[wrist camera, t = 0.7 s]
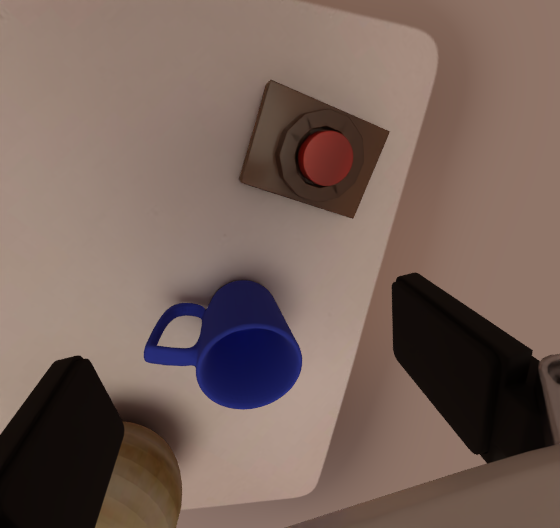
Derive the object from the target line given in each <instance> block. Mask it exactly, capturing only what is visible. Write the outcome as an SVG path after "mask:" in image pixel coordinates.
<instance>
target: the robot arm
mask: <svg viewBox="0 0 560 528" xmlns="http://www.w3.org/2000/svg"><path fill="white" fill-rule="evenodd" d="M392 316H393V317H392V318H393V351H394V355H395V357H396V359H397V361H398V362H399V363H400V364H401V366H402V367H403V368H404V369H405V371H406V372H407V373H408V374H409V375H410V376H411V378H412V379H413V380H414V382H415V383H416V384H417V385H418V387H419V388H420V389H421V390H422V391H423V393H424V394H425V395H426V396H427V398H428V399H429V400H430V401H431V403H432V404H433V405H434V406H435V408H436V409H437V410H438V411H439V413H440V414H441V415H442V416H443V417H444V419H445V420H446V421H447V422H448V423H449V425H450V426H451V427H452V428H453V430H454V431H455V432H456V433H457V435H458V436H459V437H460V438H461V440H462V441H463V442H464V443H465V445H466V446H467V447H468V448H469V449H470V450H471V451H472V452H473V453H474V454H476V455H478V454H480V455H481V456H482V458H483V459H484V460H485V461H486V462H487V464H484V465H481V466H478V467H474V468H471V469H467V470H464V471H461V472H458V473H455V474H452V475H448V476H445V477H442V478H439V479H436V480H433V481H429V482H427V483H424V484H420V485H417V486H414V487H411V488H407V489H404V490H401V491H398V492H395V493H392V494H388V495H385V496H382V497H379V498H376V499H373V500H370V501H367V502H364V503H360V504H357V505H354V506H351V507H348V508H345V509H341V510H338V511H335V512H332V513H329V514H326V515H323V516H320V517H317V518H314V519H311V520H307V521H304V522H301V523H298V524H295V525H292V526H289V527H286V528H560V354H556V355H550V356H547V357H545V358H543V359H542V360H541V361H539V360H537V359H536V358H534V357H533V356H532V351H533V350H531V349H530V348H528V347H527V346H525V345H524V344H522V343H521V342H519V341H518V340H516V339H515V338H513V337H512V336H510V335H509V334H507V333H506V332H504V331H503V330H501V329H500V328H499V327H497V326H496V325H494V324H493V323H491V322H490V321H488V320H487V319H485V318H484V317H482V316H481V315H479V314H478V313H476V312H475V311H473V310H472V309H470V308H469V307H467V306H466V305H464V304H463V303H461V302H460V301H458V300H457V299H455V298H454V297H452V296H451V295H449V294H448V293H446V292H445V291H443V290H442V289H440V288H439V287H437V286H436V285H434V284H433V283H432V282H430V281H428V280H427V279H426V278H424V277H423V276H421V275H420V274H418V273H411V274H407V275H403V276H399V277H397V279H396V282H394V283H393V284H392ZM124 431H125V430H124V424H123V422H122V420H121V418H120V416H119V414H118V412H117V410H116V408H115V407H114V405H113V403H112V401H111V399H110V397H109V395H108V393H107V392H106V390H105V388H104V386H103V384H102V382H101V380H100V378H99V377H98V375H97V373H96V371H95V369H94V367H93V365H92V363H91V362H90V360H88V359H83V358H82V357H81V356H73V357H69V358H65V359H61V360H57V361H55V362H54V363H53V364H52V365H51V367H50V368H49V369H48V371H47V372H46V373H45V375H44V376H43V377H42V379H41V380H40V382H39V383H38V384H37V386H36V387H35V388H34V390H33V391H32V392H31V394H30V395H29V396H28V398H27V399H26V401H25V402H24V403H23V405H22V406H21V407H20V409H19V410H18V411H17V413H16V414H15V416H14V417H13V418H12V420H11V421H10V422H9V424H8V425H7V426H6V428H5V429H4V430H3V432H2V433H1V435H0V528H95V526H96V523H97V520H98V517H99V513H100V510H101V507H102V504H103V501H104V498H105V494H106V491H107V488H108V485H109V482H110V479H111V475H112V472H113V469H114V466H115V463H116V460H117V456H118V453H119V450H120V447H121V444H122V441H123V438H124Z"/></svg>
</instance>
